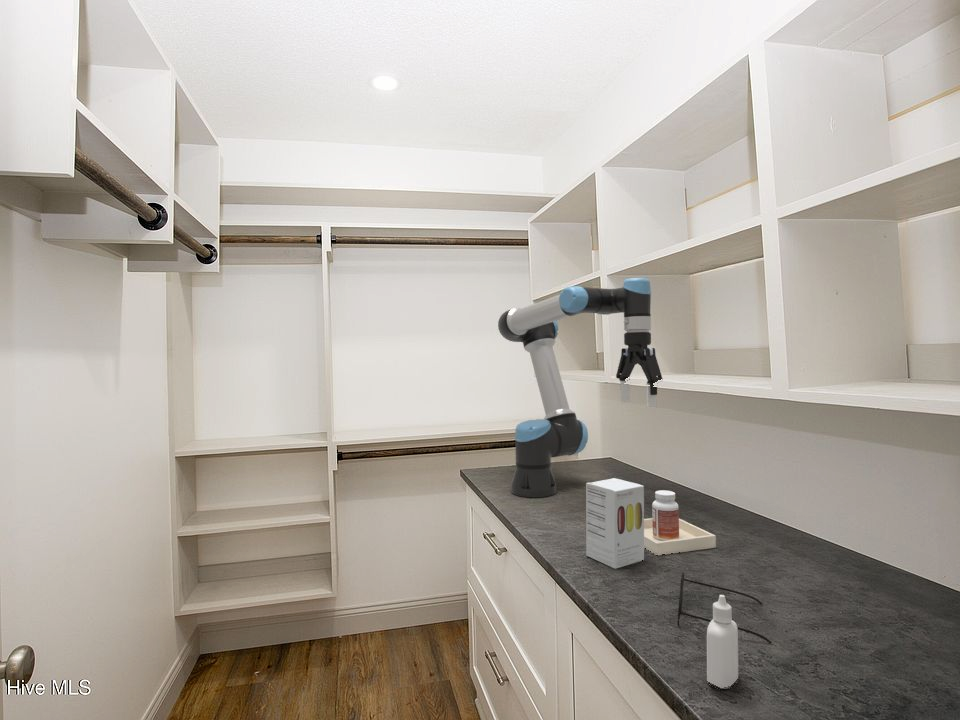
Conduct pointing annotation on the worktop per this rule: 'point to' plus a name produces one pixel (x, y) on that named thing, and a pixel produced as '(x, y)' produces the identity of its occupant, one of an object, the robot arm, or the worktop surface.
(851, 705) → the worktop surface
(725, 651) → the eye dropper bottle
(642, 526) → the supplement box
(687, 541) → the tray
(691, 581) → the glasses
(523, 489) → the robot arm
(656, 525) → the pill bottle
